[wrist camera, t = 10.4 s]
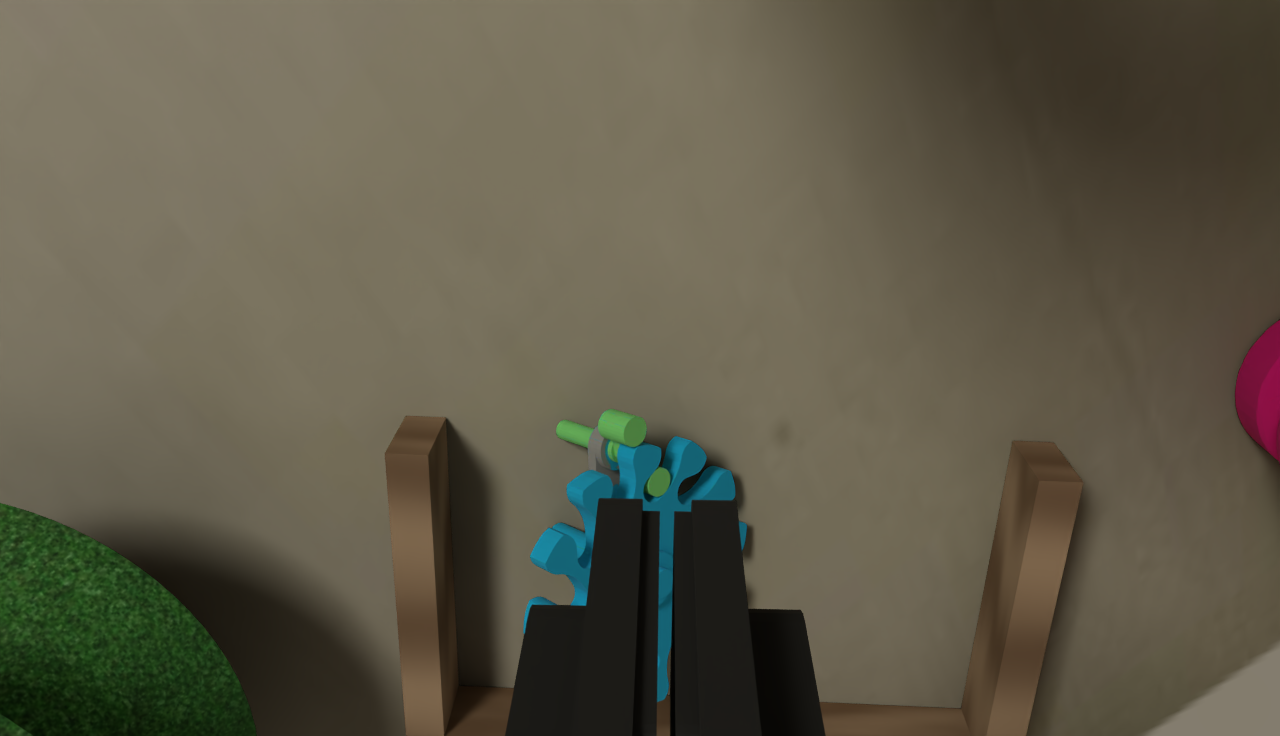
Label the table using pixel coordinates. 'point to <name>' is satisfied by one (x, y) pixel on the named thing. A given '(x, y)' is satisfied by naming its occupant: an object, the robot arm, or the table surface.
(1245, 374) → the pepper mill
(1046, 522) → the frame
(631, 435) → the gear
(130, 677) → the decorative tree
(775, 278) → the table surface
